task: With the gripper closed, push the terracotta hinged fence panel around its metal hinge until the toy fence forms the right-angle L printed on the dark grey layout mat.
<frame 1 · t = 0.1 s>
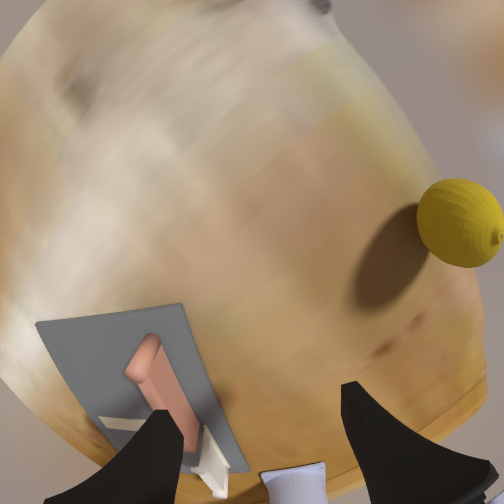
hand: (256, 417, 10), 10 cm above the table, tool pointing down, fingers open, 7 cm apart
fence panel: (171, 409, 18), point 3 cm above the table, hinge at 0.0°
lemon: (424, 211, 18), on the table
layout mat: (148, 416, 22), on the table
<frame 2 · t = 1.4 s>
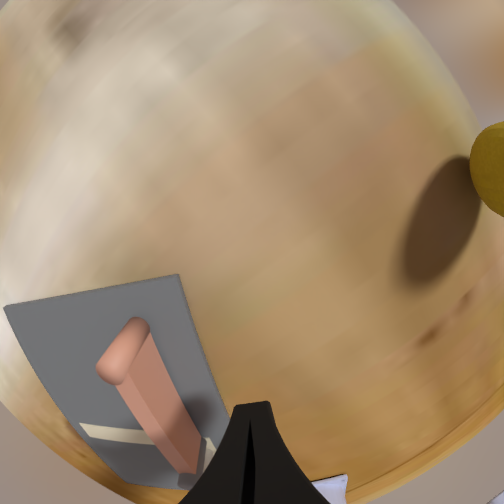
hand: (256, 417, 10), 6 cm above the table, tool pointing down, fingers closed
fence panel: (163, 420, 13), point 3 cm above the table, hinge at 0.0°
lemon: (471, 167, 13), on the table
layout mat: (137, 425, 17), on the table
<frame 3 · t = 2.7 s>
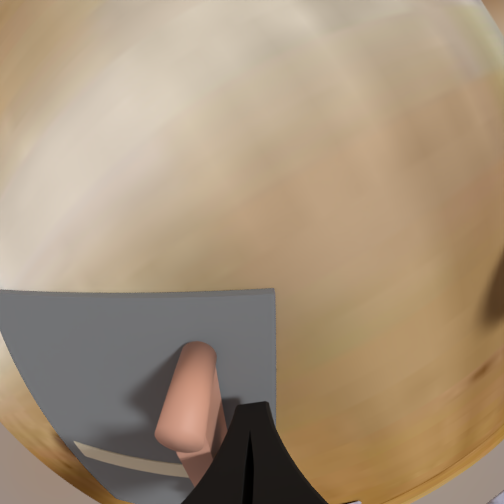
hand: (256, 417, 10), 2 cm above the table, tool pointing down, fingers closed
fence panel: (213, 468, 9), point 3 cm above the table, hinge at 0.0°, touching gripper
layout mat: (151, 454, 13), on the table
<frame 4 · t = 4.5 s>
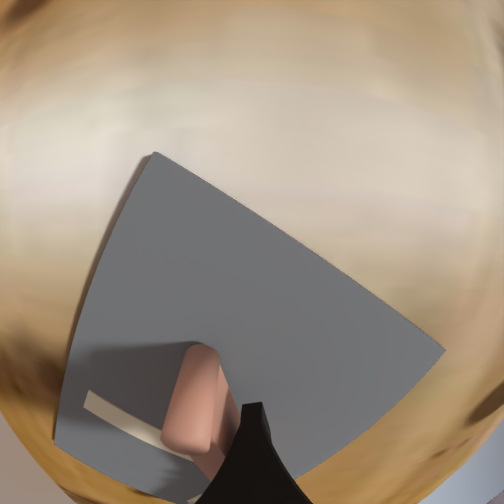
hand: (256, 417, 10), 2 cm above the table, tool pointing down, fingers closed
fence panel: (236, 469, 9), point 3 cm above the table, hinge at 46.4°, touching gripper
layout mat: (195, 437, 13), on the table
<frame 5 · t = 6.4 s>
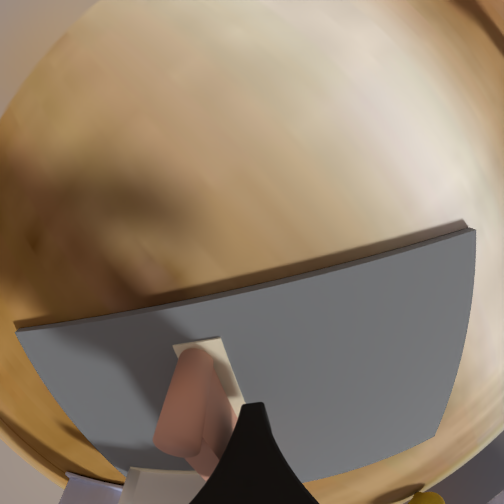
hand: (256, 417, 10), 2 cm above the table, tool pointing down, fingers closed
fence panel: (234, 470, 9), point 3 cm above the table, hinge at 91.3°, touching gripper
lemon: (415, 491, 19), on the table
layout mat: (257, 425, 12), on the table
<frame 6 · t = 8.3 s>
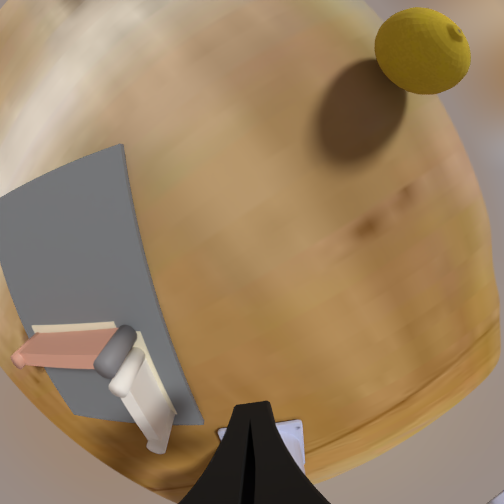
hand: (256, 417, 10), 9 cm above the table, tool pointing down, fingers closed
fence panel: (65, 351, 16), point 3 cm above the table, hinge at 91.5°
lemon: (390, 70, 14), on the table
layout mat: (79, 320, 19), on the table
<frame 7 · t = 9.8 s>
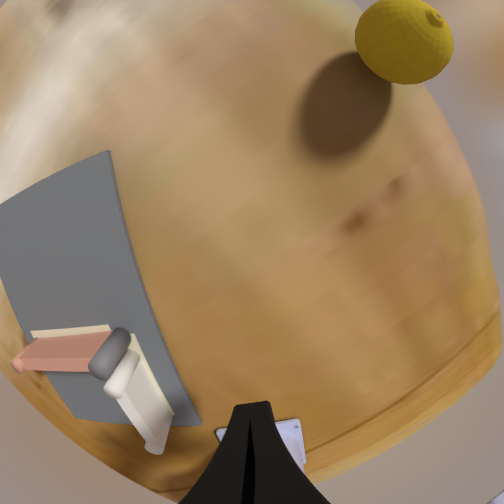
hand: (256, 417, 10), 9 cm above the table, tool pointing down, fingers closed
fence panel: (62, 355, 16), point 3 cm above the table, hinge at 91.5°
lemon: (374, 62, 14), on the table
layout mat: (75, 325, 19), on the table
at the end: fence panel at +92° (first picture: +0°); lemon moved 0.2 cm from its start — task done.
